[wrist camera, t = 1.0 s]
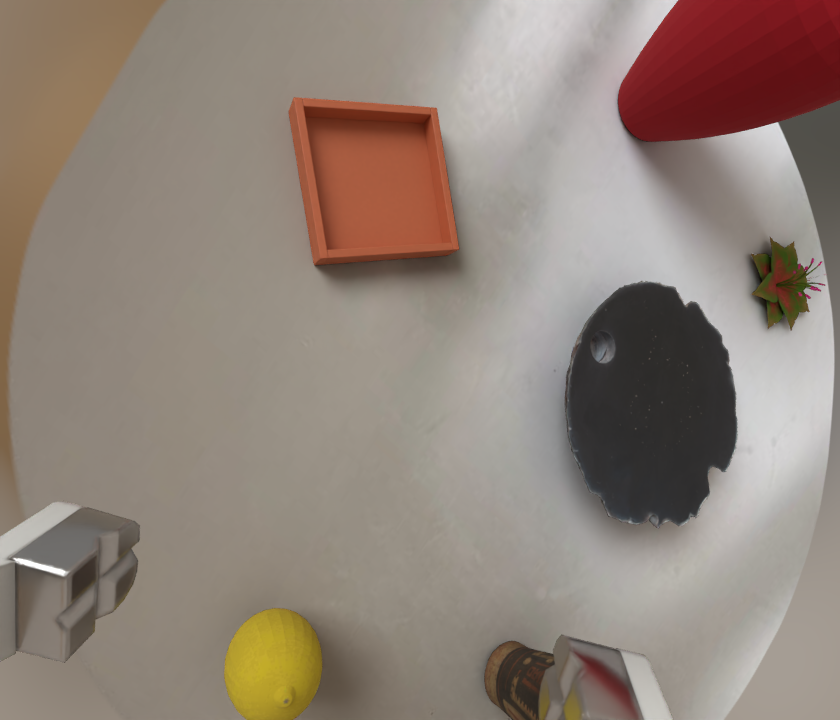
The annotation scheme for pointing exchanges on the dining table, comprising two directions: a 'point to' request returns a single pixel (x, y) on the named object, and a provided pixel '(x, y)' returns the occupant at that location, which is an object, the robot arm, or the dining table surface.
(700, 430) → the board
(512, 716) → the cup
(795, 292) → the lily flower
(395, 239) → the tray
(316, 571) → the dining table surface
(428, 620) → the dining table surface
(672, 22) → the vase
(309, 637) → the lemon
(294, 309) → the dining table surface
